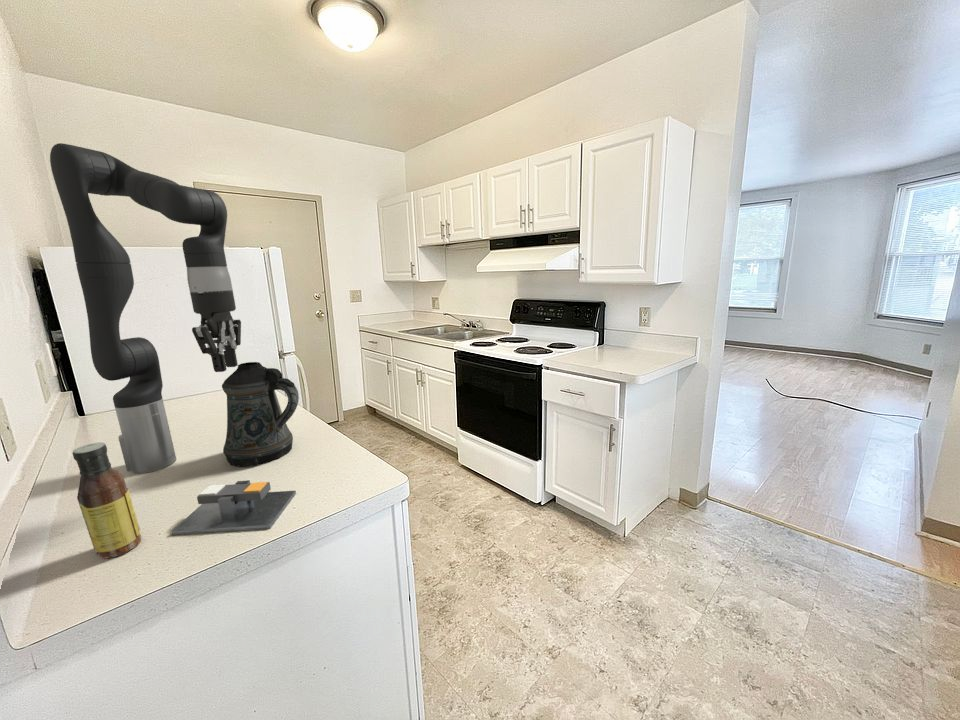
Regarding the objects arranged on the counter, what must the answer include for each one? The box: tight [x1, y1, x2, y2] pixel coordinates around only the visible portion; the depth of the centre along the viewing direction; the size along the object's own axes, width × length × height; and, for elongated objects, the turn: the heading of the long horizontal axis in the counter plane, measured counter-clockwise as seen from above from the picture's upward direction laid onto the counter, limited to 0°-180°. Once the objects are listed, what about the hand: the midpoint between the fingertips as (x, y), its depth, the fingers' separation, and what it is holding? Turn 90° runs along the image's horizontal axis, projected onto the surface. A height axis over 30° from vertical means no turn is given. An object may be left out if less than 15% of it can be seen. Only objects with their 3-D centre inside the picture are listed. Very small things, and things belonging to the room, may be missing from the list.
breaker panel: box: [170, 479, 297, 536], centre depth 79 cm, size 18×12×5 cm, turn 93°
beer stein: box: [221, 361, 300, 468], centre depth 105 cm, size 16×19×25 cm
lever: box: [196, 481, 272, 505], centre depth 79 cm, size 12×4×2 cm, turn 93°
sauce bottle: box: [72, 441, 142, 559], centre depth 68 cm, size 6×6×20 cm
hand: (226, 368), depth 86 cm, fingers open, 3 cm apart
